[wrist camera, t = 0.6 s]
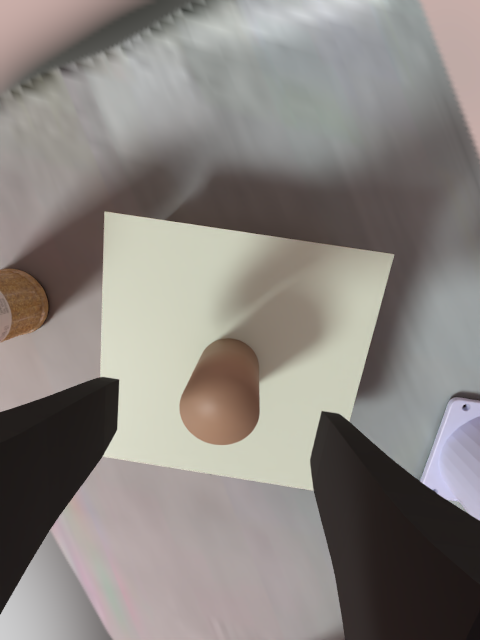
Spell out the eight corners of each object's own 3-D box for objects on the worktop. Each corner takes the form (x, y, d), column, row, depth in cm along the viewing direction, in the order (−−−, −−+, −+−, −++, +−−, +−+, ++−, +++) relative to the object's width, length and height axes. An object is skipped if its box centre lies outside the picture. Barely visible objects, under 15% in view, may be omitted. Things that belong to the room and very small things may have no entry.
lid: (388, 253, 14) (450, 259, 9) (327, 484, 17) (351, 569, 13) (110, 212, 14) (43, 199, 10) (103, 448, 18) (51, 519, 13)
